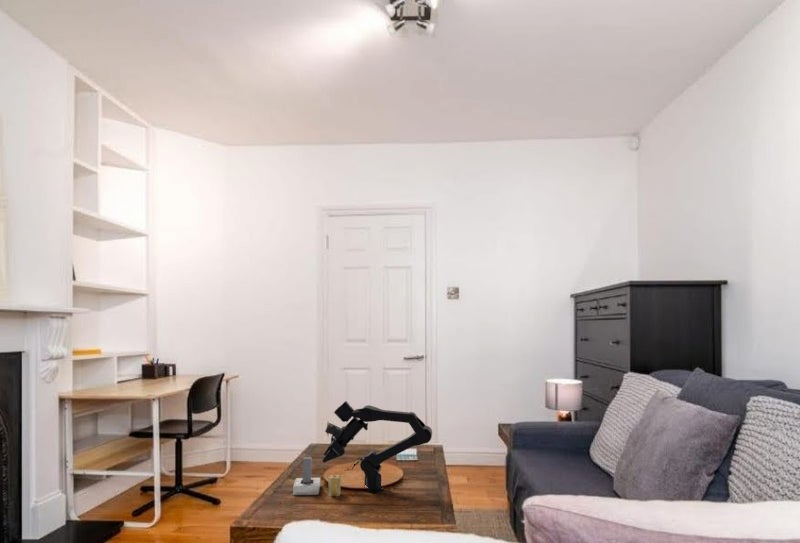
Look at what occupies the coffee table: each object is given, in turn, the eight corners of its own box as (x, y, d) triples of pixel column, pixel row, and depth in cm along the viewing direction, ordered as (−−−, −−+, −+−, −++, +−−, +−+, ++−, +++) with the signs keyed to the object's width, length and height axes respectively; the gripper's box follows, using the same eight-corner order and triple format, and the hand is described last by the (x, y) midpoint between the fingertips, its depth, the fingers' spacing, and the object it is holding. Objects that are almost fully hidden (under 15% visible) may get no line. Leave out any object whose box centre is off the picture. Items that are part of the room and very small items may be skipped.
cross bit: (343, 494, 207) (343, 476, 208) (333, 497, 204) (334, 479, 204) (334, 491, 211) (334, 473, 211) (325, 494, 207) (325, 476, 207)
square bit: (311, 489, 214) (311, 456, 215) (310, 491, 210) (311, 458, 211) (303, 489, 213) (303, 456, 214) (302, 492, 210) (303, 459, 211)
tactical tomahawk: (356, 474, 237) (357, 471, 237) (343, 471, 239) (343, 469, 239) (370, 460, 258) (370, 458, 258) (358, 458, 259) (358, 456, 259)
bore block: (320, 486, 217) (320, 477, 218) (318, 494, 207) (318, 485, 208) (296, 486, 216) (296, 478, 217) (293, 495, 207) (293, 486, 207)
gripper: (337, 412, 224) (311, 438, 223) (336, 421, 206) (307, 450, 204) (356, 430, 225) (330, 457, 223) (356, 441, 206) (327, 470, 204)
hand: (323, 458), depth 213 cm, fingers open, 9 cm apart
